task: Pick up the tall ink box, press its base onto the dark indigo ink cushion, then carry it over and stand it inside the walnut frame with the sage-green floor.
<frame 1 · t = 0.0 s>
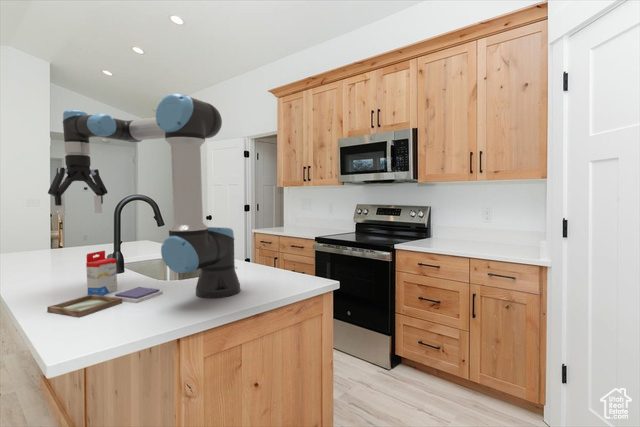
hand: (80, 214, 131), 28 cm above the counter, fingers open, 13 cm apart
frame: (86, 307, 113), on the counter
ink pad: (137, 296, 123), on the counter
ink box: (103, 293, 129), on the counter
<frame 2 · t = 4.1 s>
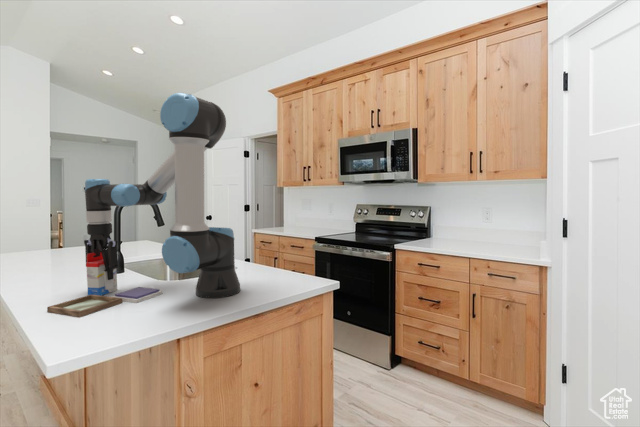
hand: (102, 287, 129), 2 cm above the counter, fingers closed on ink box, 5 cm apart
ink box: (103, 293, 129), on the counter, touching gripper
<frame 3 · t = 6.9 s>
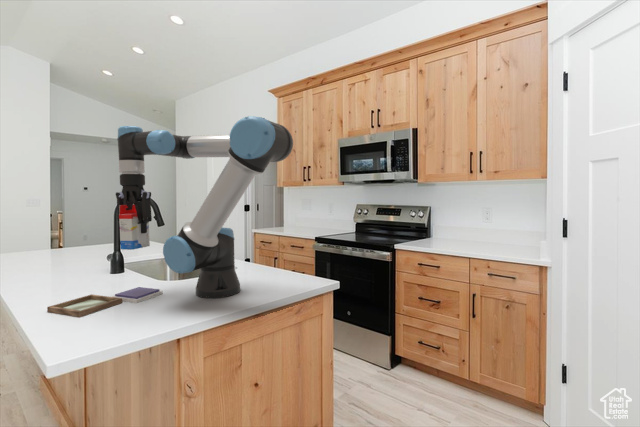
hand: (135, 242, 122), 19 cm above the counter, fingers closed on ink box, 5 cm apart
ink box: (135, 248, 122), point 17 cm above the counter, touching gripper
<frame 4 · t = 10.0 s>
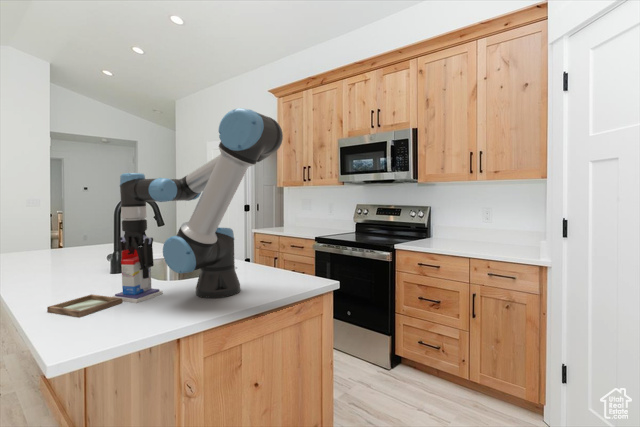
hand: (137, 286, 123), 3 cm above the counter, fingers closed on ink box, 5 cm apart
ink box: (137, 292, 123), point 1 cm above the counter, touching gripper, ink pad
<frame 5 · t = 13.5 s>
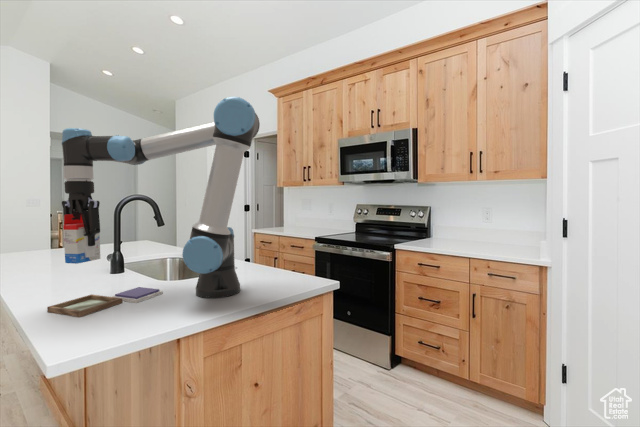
hand: (83, 255, 112), 16 cm above the counter, fingers closed on ink box, 5 cm apart
ink box: (83, 261, 112), point 14 cm above the counter, touching gripper
when the fingers open (3 cm above the counter, at t = 16.4 s): ink box drops 1 cm, resting on frame.
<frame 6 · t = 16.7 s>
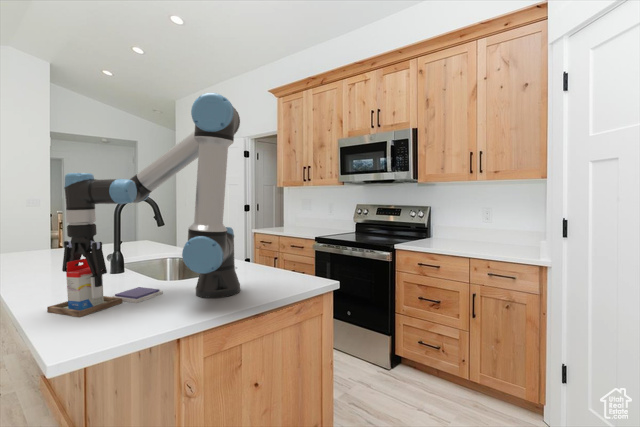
hand: (85, 295, 112), 4 cm above the counter, fingers open, 9 cm apart
ink box: (86, 307, 113), resting on frame
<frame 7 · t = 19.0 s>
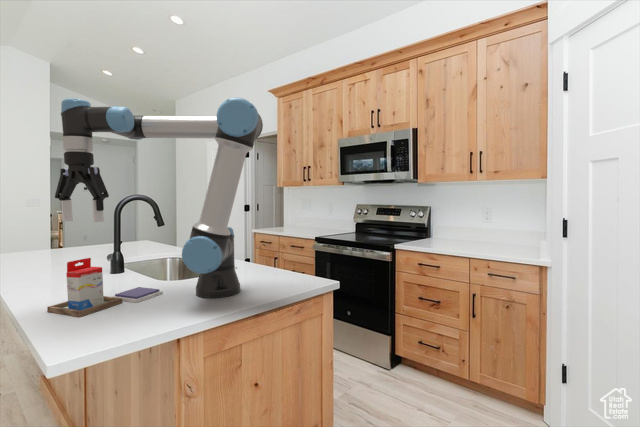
hand: (82, 221, 111), 27 cm above the counter, fingers open, 13 cm apart
nothing on the counter moved.
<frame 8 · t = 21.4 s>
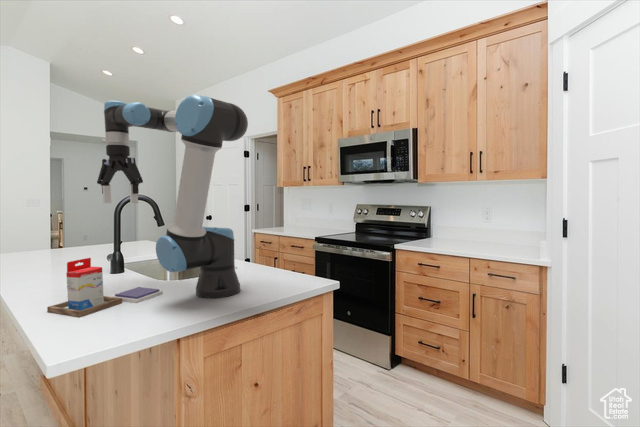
hand: (120, 203, 134), 32 cm above the counter, fingers open, 13 cm apart
nothing on the counter moved.
at the end: ink box inside the target area on the frame (0.1 cm from its centre), point 0.0 cm above the frame's base; ink box tilted 0°; the gripper is holding nothing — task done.
